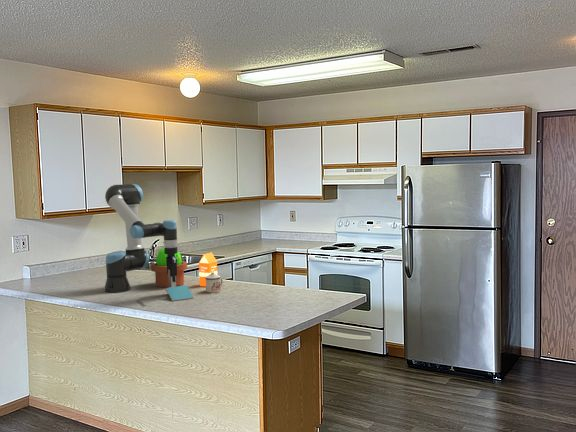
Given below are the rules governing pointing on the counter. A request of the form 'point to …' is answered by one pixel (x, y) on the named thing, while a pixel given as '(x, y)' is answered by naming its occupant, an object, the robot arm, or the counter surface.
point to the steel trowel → (169, 278)
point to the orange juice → (207, 267)
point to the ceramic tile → (179, 293)
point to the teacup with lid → (213, 283)
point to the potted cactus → (161, 269)
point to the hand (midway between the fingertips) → (172, 286)
